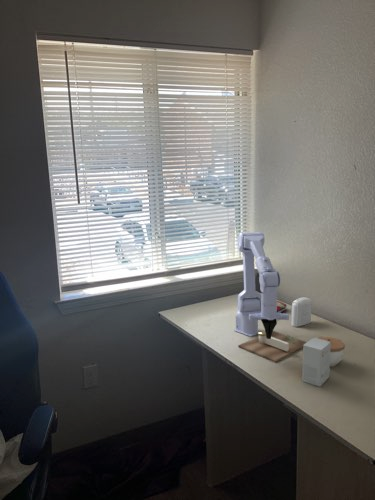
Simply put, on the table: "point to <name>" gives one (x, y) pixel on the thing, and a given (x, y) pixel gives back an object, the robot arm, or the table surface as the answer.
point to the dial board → (271, 351)
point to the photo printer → (301, 312)
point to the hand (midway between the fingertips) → (268, 337)
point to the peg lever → (272, 341)
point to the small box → (316, 361)
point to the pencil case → (280, 307)
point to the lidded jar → (335, 350)
